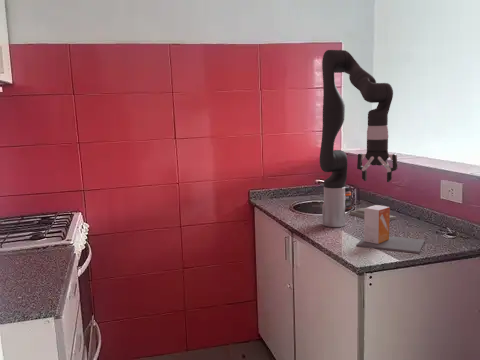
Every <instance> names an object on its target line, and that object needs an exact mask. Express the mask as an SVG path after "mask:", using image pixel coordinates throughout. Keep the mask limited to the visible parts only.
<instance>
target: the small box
mask: <svg viewBox="0 0 480 360" xmlns="http://www.w3.org/2000/svg"><path fill="white" fill-rule="evenodd" d="M363 208H364V218H363V220H364V221H363V224H364V225H363V226H364V227H363V230H364V231H363V237H364V241H366V242H371V243H376V244H379V243H382V242H384V241H387V240H389V236H390V221H391V220H390V215H391V210H390V209H391V208H390V206H386V205H379V204H375V205H370V206H368V207H363Z"/></svg>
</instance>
